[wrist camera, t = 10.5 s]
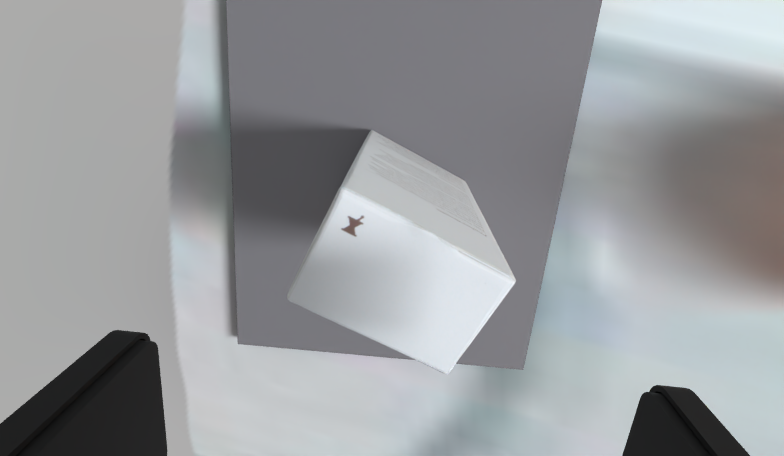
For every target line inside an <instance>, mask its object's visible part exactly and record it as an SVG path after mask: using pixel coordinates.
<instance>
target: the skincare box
mask: <svg viewBox="0 0 784 456" xmlns="http://www.w3.org/2000/svg"><path fill="white" fill-rule="evenodd" d="M515 282H516V279H515V277H514V275H513V273H512V271H511V269H510V267H509V265H508V263H507V261H506V259H505V258H504V255H503V254H502V252H501V250H500V248H499V246H498V244H497V242H496V240H495V238H494V236H493V234H492V232H491V230H490V228H489V226H488V224H487V222H486V220H485V218H484V216H483V214H482V213H481V211H480V209H479V207H478V205H477V203H476V201H475V199H474V197H473V195H472V193H471V191H470V189H469V187H468V185H467V183H466V182H465V181H464V180H462V179H460V178H459V177H457V176H455V175H453V174H451V173H450V172H448V171H446V170H444V169H442V168H441V167H439V166H437V165H435V164H433V163H431V162H430V161H428V160H426V159H424V158H422V157H421V156H419V155H417V154H415V153H413V152H412V151H410V150H408V149H406V148H404V147H402V146H401V145H399V144H397V143H395V142H393V141H391V140H390V139H388V138H386V137H384V136H382V135H380V134H379V133H377V132H375V131H373V130H371V131H370V132H369V134H368V135H367V137H366V139H365V141H364V143H363V145H362V147H361V148H360V150H359V152H358V154H357V156H356V158H355V160H354V162H353V163H352V165H351V167H350V169H349V171H348V173H347V175H346V177H345V179H344V181H343V183H342V185H341V187H340V188H339V190H338V192H337V194H336V196H335V198H334V200H333V202H332V204H331V206H330V208H329V210H328V212H327V214H326V216H325V218H324V220H323V222H322V224H321V226H320V228H319V230H318V232H317V234H316V236H315V238H314V240H313V242H312V244H311V246H310V248H309V250H308V252H307V254H306V256H305V258H304V260H303V262H302V264H301V266H300V268H299V270H298V272H297V274H296V277H295V279H294V281H293V283H292V285H291V287H290V289H289V292H288V294H287V298H288V300H289V301H290V302H292V303H295V304H297V305H299V306H301V307H303V308H305V309H307V310H310V311H312V312H314V313H316V314H318V315H320V316H322V317H325V318H327V319H329V320H331V321H333V322H335V323H337V324H339V325H342V326H344V327H346V328H348V329H350V330H352V331H355V332H357V333H359V334H361V335H363V336H366V337H368V338H370V339H372V340H374V341H377V342H379V343H381V344H383V345H385V346H387V347H390V348H392V349H394V350H396V351H398V352H400V353H402V354H404V355H406V356H409V357H411V358H413V359H415V360H417V361H419V362H422V363H424V364H426V365H428V366H430V367H432V368H434V369H436V370H438V371H440V372H442V373H444V374H449V373H450V371H451V370H452V368H453V367H454V365H455V364H456V363H457V361H458V360H459V358H460V357H461V356H462V354H463V353H464V352H465V350H466V349H467V348H468V346H469V345H470V344H471V342H472V341H473V340H474V338H475V337H476V336H477V334H478V333H479V332H480V330H481V329H482V327H483V326H484V325H485V323H486V322H487V321H488V319H489V318H490V317H491V315H492V314H493V313H494V311H495V310H496V309H497V307H498V306H499V304H500V303H501V302H502V300H503V299H504V298H505V296H506V295H507V294H508V292H509V291H510V289H511V288H512V287H513V285H514V284H515Z"/></svg>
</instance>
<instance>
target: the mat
mask: <svg viewBox="0 0 784 456" xmlns="http://www.w3.org/2000/svg"><path fill="white" fill-rule="evenodd" d="M601 3H602V0H226V10H227V39H228V69H229V98H230V127H231V157H232V186H233V215H234V245H235V274H236V303H237V333H238V344H244V345H255V346H267V347H278V348H289V349H300V350H311V351H322V352H333V353H344V354H355V355H366V356H377V357H388V358H399V359H410V360H415V359H413V358H411V357H409V356H406V355H404V354H402V353H400V352H398V351H396V350H394V349H392V348H390V347H387V346H385V345H383V344H381V343H379V342H377V341H374V340H372V339H370V338H368V337H366V336H363V335H361V334H359V333H357V332H355V331H352V330H350V329H348V328H346V327H344V326H342V325H339V324H337V323H335V322H333V321H331V320H329V319H327V318H325V317H322V316H320V315H318V314H316V313H314V312H312V311H310V310H307V309H305V308H303V307H301V306H299V305H297V304H295V303H292V302H290V301H289V300H288V298H287V294H288V292H289V289H290V287H291V285H292V283H293V281H294V279H295V277H296V274H297V272H298V270H299V268H300V266H301V264H302V262H303V260H304V258H305V256H306V254H307V252H308V250H309V248H310V246H311V244H312V242H313V240H314V238H315V236H316V234H317V232H318V230H319V228H320V226H321V224H322V222H323V220H324V218H325V216H326V214H327V212H328V210H329V208H330V206H331V204H332V202H333V200H334V198H335V196H336V194H337V192H338V190H339V188H340V187H341V185H342V183H343V181H344V179H345V177H346V175H347V173H348V171H349V169H350V167H351V165H352V163H353V162H354V160H355V158H356V156H357V154H358V152H359V150H360V148H361V147H362V145H363V143H364V141H365V139H366V137H367V135H368V134H369V132H370V131H371V130H373V131H375V132H377V133H379V134H380V135H382V136H384V137H386V138H388V139H390V140H391V141H393V142H395V143H397V144H399V145H401V146H402V147H404V148H406V149H408V150H410V151H412V152H413V153H415V154H417V155H419V156H421V157H422V158H424V159H426V160H428V161H430V162H431V163H433V164H435V165H437V166H439V167H441V168H442V169H444V170H446V171H448V172H450V173H451V174H453V175H455V176H457V177H459V178H460V179H462V180H464V181H465V182H466V183H467V185H468V187H469V189H470V191H471V193H472V195H473V197H474V199H475V201H476V203H477V205H478V207H479V209H480V211H481V213H482V214H483V216H484V218H485V220H486V222H487V224H488V226H489V228H490V230H491V232H492V234H493V236H494V238H495V240H496V242H497V244H498V246H499V248H500V250H501V252H502V254H503V255H504V258H505V259H506V261H507V263H508V265H509V267H510V269H511V271H512V273H513V275H514V277H515V279H516V282H515V284H514V285H513V287H512V288H511V289H510V291H509V292H508V294H507V295H506V296H505V298H504V299H503V300H502V302H501V303H500V304H499V306H498V307H497V309H496V310H495V311H494V313H493V314H492V315H491V317H490V318H489V319H488V321H487V322H486V323H485V325H484V326H483V327H482V329H481V330H480V332H479V333H478V334H477V336H476V337H475V338H474V340H473V341H472V342H471V344H470V345H469V346H468V348H467V349H466V350H465V352H464V353H463V354H462V356H461V357H460V358H459V360H458V361H457V363H456V364H465V365H476V366H487V367H498V368H510V369H521V370H523V368H524V364H525V359H526V354H527V350H528V345H529V340H530V336H531V331H532V326H533V322H534V317H535V312H536V307H537V303H538V298H539V293H540V289H541V284H542V279H543V275H544V270H545V265H546V261H547V256H548V251H549V247H550V242H551V237H552V233H553V228H554V223H555V219H556V214H557V209H558V205H559V200H560V195H561V191H562V186H563V181H564V176H565V172H566V167H567V162H568V158H569V153H570V148H571V144H572V139H573V134H574V130H575V125H576V120H577V116H578V111H579V106H580V102H581V97H582V92H583V88H584V83H585V78H586V74H587V69H588V64H589V60H590V55H591V50H592V46H593V41H594V36H595V31H596V27H597V22H598V17H599V13H600V8H601Z"/></svg>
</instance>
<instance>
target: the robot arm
mask: <svg viewBox="0 0 784 456" xmlns="http://www.w3.org/2000/svg"><path fill="white" fill-rule="evenodd" d="M0 456H167V442H166V431H165V420H164V409H163V398H162V387H161V377H160V366H159V355H158V347H157V344H156V343H155V342H152V341H150V338H149V336H148V334H146V333H140V332H130V331H121V330H115V331H112V332H110V333H109V334H108V335H107V336H105V337H104V338H103V339H102V340H101V341H99V342H98V343H97V344H96V345H94V346H93V347H92V348H91V349H90V350H88V351H87V352H86V353H85V354H84V355H82V356H81V357H80V358H79V359H78V360H76V361H75V362H74V363H73V364H72V365H70V366H69V367H68V368H67V369H66V370H64V371H63V372H62V373H61V374H60V375H59V376H57V377H56V378H55V379H54V380H53V381H51V382H50V383H49V384H48V385H46V386H45V387H44V388H43V389H42V390H40V391H39V392H38V393H37V394H36V395H34V396H33V397H32V398H31V399H30V400H28V401H27V402H26V403H25V404H24V405H22V406H21V407H20V408H19V409H18V410H16V411H15V412H14V413H13V414H12V415H10V416H9V417H8V418H7V419H6V420H4V421H3V422H2V423H1V424H0ZM623 456H750V455H749V454H748V453H747V452H746V451H745V449H744V448H743V447H742V446H741V445H740V444H739V443H738V442H737V440H736V439H735V438H734V437H733V436H732V435H731V434H730V432H729V431H728V430H727V429H726V428H725V427H724V426H723V425H722V423H721V422H720V421H719V420H718V419H717V418H716V417H715V415H714V414H713V413H712V412H711V411H710V410H709V409H708V408H707V406H706V405H705V404H704V403H703V402H702V401H701V400H700V398H699V397H698V396H697V395H696V394H695V393H694V392H693V391H692V390H690V389H687V388H680V387H670V386H661V385H656V386H653V387H652V388H651V389H650V392H645V393H643V394H642V396H641V398H640V401H639V404H638V407H637V411H636V414H635V417H634V420H633V423H632V427H631V430H630V433H629V436H628V440H627V443H626V446H625V449H624V452H623Z"/></svg>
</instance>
